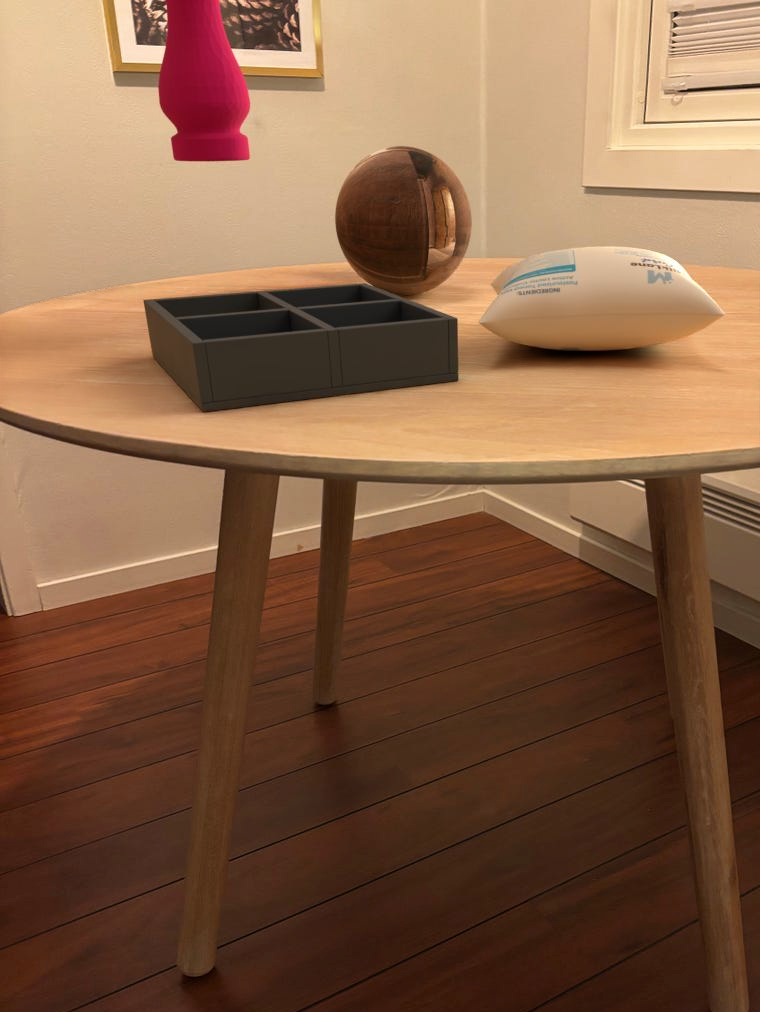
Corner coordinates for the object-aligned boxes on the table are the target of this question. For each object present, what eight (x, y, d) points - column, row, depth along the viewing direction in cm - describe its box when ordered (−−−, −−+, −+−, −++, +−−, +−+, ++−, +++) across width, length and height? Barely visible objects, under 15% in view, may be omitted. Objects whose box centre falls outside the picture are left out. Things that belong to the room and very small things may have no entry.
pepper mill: (149, 160, 79) (102, -146, 69) (215, 158, 84) (180, -128, 74) (209, 162, 75) (168, -161, 65) (274, 159, 80) (245, -140, 71)
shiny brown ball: (330, 287, 112) (319, 145, 105) (451, 281, 116) (449, 144, 109) (354, 308, 100) (343, 148, 93) (489, 300, 104) (489, 147, 96)
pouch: (491, 236, 89) (479, 254, 71) (694, 242, 89) (733, 262, 71) (488, 323, 93) (476, 361, 75) (684, 330, 92) (718, 370, 74)
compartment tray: (202, 412, 64) (192, 343, 62) (152, 356, 80) (143, 299, 77) (458, 380, 72) (458, 318, 70) (368, 335, 87) (365, 283, 85)
